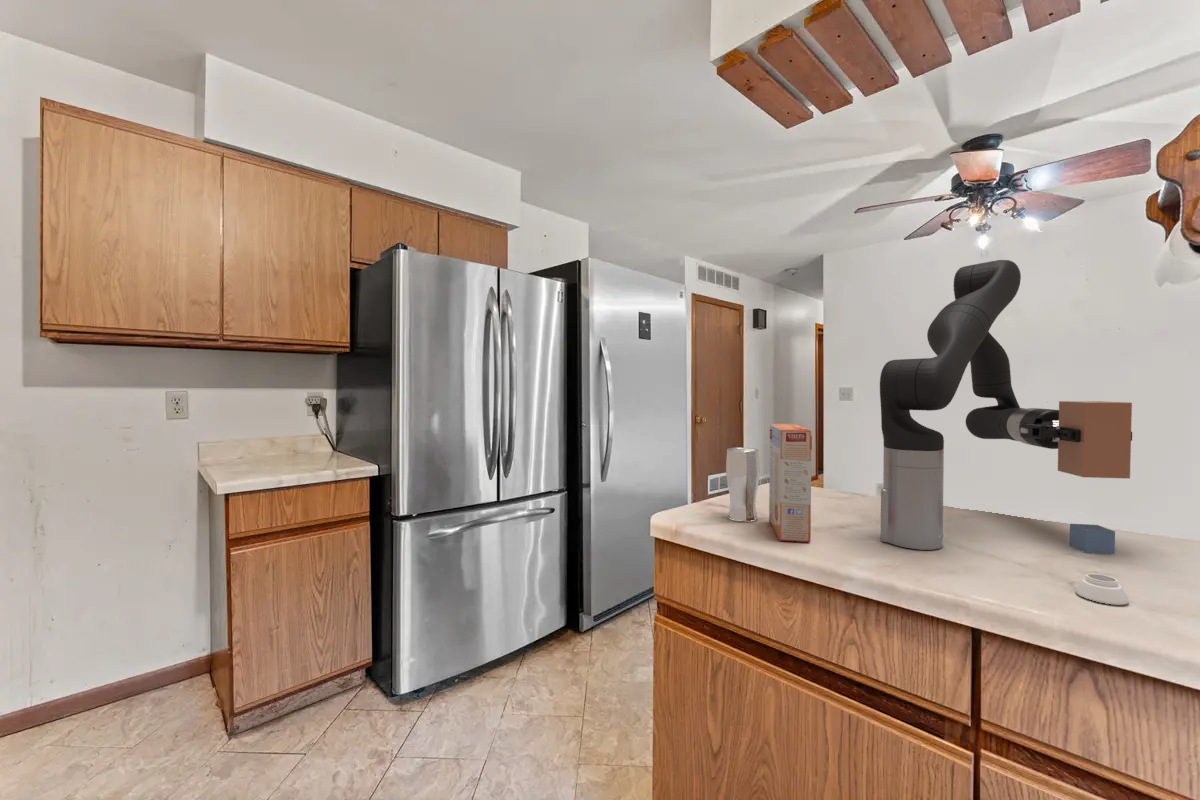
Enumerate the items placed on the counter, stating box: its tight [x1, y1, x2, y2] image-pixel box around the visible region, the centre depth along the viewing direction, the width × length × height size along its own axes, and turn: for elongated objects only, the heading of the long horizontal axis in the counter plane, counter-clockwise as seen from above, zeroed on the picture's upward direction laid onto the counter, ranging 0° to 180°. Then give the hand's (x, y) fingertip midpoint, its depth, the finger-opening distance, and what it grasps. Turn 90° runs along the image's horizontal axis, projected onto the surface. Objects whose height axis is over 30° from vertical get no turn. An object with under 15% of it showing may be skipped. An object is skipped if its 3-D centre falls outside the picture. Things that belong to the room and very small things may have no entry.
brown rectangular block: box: [1057, 400, 1133, 479], centre depth 86 cm, size 6×6×12 cm
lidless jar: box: [1075, 573, 1130, 606], centre depth 67 cm, size 5×3×5 cm
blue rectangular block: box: [1069, 523, 1116, 555], centre depth 86 cm, size 4×4×4 cm
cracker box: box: [768, 423, 813, 543], centre depth 98 cm, size 14×6×21 cm, turn 168°
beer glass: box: [725, 447, 761, 521], centre depth 108 cm, size 7×7×15 cm
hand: (1103, 436), depth 83 cm, fingers closed on brown rectangular block, 6 cm apart
